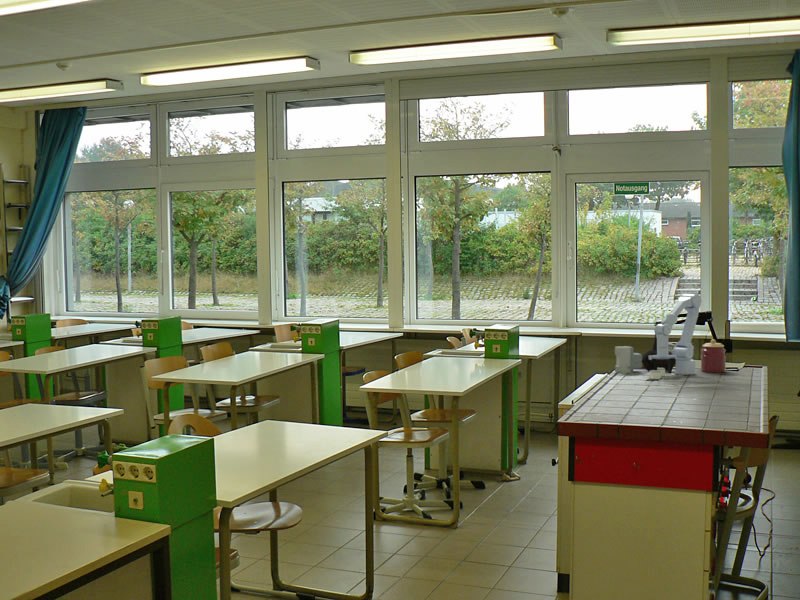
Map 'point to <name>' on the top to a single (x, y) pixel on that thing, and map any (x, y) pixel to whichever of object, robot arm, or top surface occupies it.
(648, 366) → the glass bottle
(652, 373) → the slider
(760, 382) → the top surface
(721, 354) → the canister
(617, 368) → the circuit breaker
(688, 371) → the robot arm
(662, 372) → the slider
